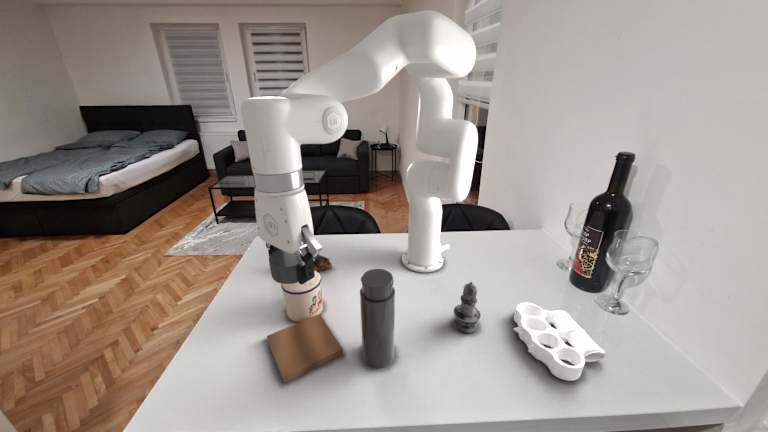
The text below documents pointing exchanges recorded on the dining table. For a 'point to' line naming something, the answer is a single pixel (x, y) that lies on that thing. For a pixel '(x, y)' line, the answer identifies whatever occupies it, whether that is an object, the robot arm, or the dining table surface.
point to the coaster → (303, 347)
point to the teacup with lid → (303, 299)
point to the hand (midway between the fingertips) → (292, 271)
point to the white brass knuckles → (556, 340)
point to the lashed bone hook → (322, 263)
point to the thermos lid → (284, 266)
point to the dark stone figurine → (467, 311)
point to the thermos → (377, 317)
